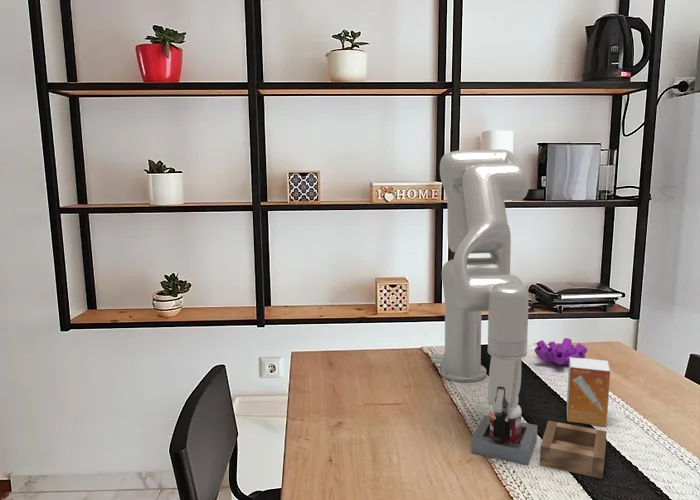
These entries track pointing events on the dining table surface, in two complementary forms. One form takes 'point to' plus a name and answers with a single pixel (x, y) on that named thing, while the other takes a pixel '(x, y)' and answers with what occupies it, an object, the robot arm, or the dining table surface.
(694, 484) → the dining table surface
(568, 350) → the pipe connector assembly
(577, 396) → the small box
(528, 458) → the socket block
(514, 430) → the pill bottle
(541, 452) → the tray
